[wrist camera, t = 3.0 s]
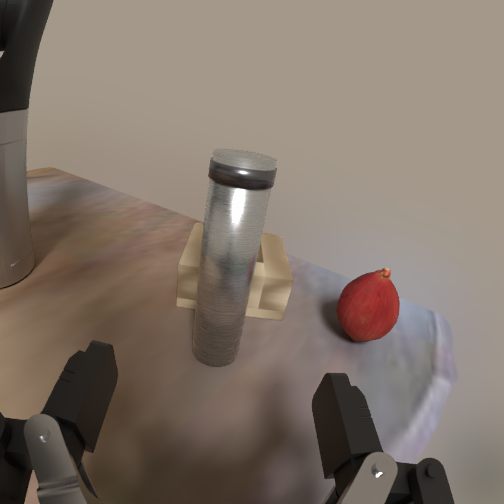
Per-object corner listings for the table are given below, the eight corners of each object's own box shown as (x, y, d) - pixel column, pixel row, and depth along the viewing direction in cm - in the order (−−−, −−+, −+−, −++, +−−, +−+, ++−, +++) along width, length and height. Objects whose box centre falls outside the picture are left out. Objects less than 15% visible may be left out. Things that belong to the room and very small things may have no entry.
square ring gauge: (176, 306, 27) (178, 264, 25) (192, 257, 36) (195, 222, 34) (281, 320, 28) (293, 280, 26) (273, 268, 37) (280, 235, 35)
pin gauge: (188, 364, 21) (208, 153, 14) (194, 331, 24) (215, 146, 18) (238, 370, 21) (282, 165, 15) (238, 337, 25) (274, 155, 18)
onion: (314, 334, 27) (342, 258, 23) (346, 313, 30) (371, 247, 27) (363, 369, 23) (403, 293, 19) (389, 342, 27) (422, 274, 23)
